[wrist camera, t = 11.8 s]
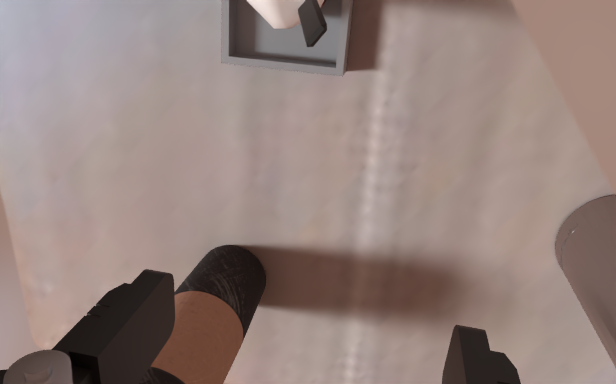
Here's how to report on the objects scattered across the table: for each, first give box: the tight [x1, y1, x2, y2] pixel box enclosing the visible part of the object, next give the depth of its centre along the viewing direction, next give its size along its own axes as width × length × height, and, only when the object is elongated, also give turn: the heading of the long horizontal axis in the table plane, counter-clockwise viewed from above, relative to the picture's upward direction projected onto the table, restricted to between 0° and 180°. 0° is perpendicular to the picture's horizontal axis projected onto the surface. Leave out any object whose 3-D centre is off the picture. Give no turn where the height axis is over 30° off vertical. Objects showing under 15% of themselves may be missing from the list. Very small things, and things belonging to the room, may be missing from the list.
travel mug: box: [139, 245, 266, 384], centre depth 42 cm, size 8×8×20 cm
